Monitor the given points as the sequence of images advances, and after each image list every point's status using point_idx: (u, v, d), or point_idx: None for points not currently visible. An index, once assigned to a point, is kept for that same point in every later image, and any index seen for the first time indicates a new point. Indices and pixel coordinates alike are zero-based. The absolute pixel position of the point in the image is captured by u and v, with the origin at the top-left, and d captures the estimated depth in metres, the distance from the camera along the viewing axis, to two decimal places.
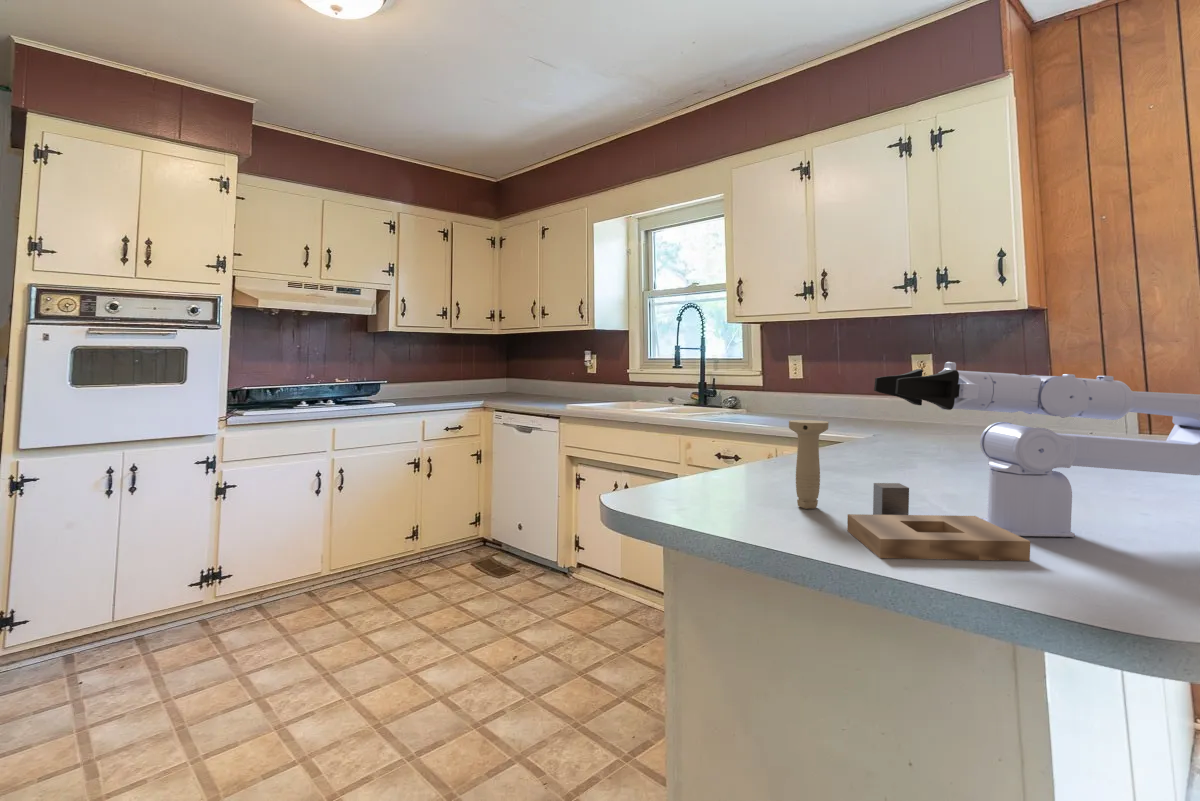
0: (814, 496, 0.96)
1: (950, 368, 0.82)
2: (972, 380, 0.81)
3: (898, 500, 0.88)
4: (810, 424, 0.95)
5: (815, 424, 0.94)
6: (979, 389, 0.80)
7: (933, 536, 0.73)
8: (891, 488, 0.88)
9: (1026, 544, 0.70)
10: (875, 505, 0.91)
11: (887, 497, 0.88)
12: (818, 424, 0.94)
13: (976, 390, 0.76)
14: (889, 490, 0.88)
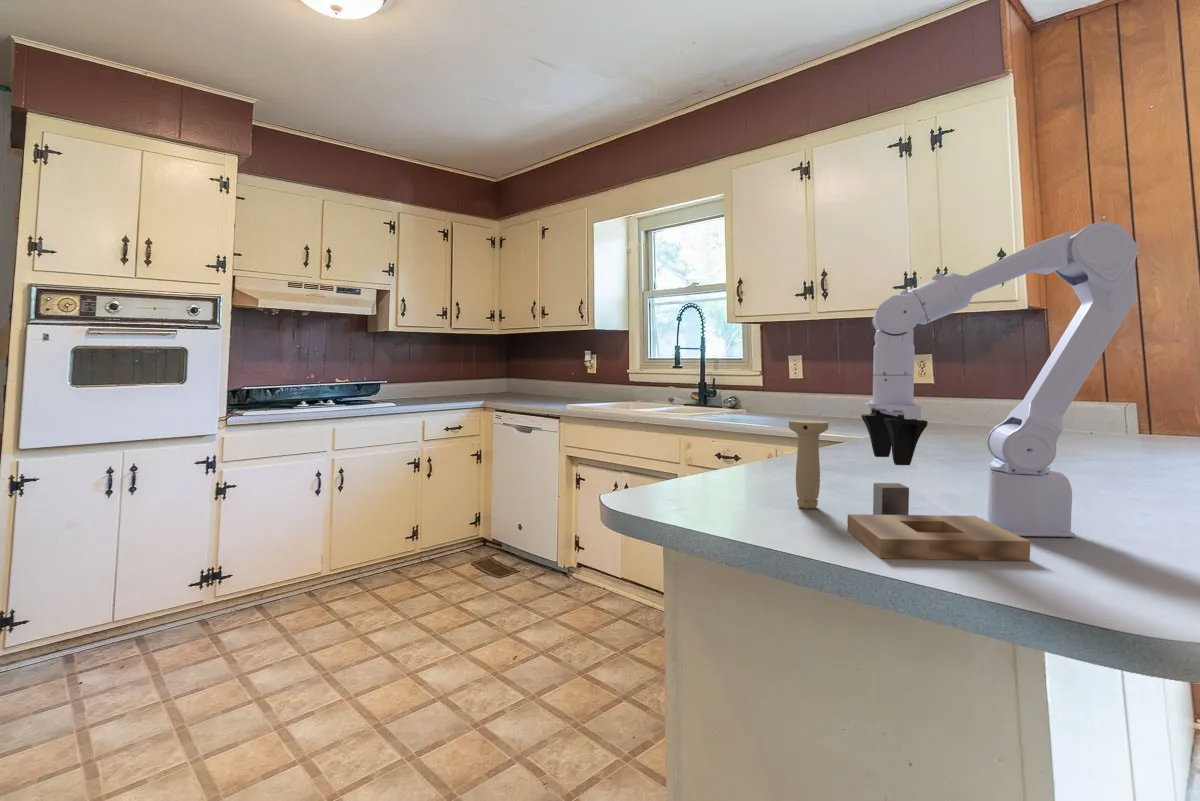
0: (814, 496, 0.96)
1: (874, 407, 0.88)
2: (889, 392, 0.87)
3: (898, 500, 0.88)
4: (810, 424, 0.95)
5: (815, 424, 0.94)
6: (899, 387, 0.86)
7: (933, 536, 0.73)
8: (891, 488, 0.88)
9: (1026, 544, 0.70)
10: (875, 505, 0.91)
11: (887, 497, 0.88)
12: (818, 424, 0.94)
13: (913, 408, 0.82)
14: (889, 490, 0.88)
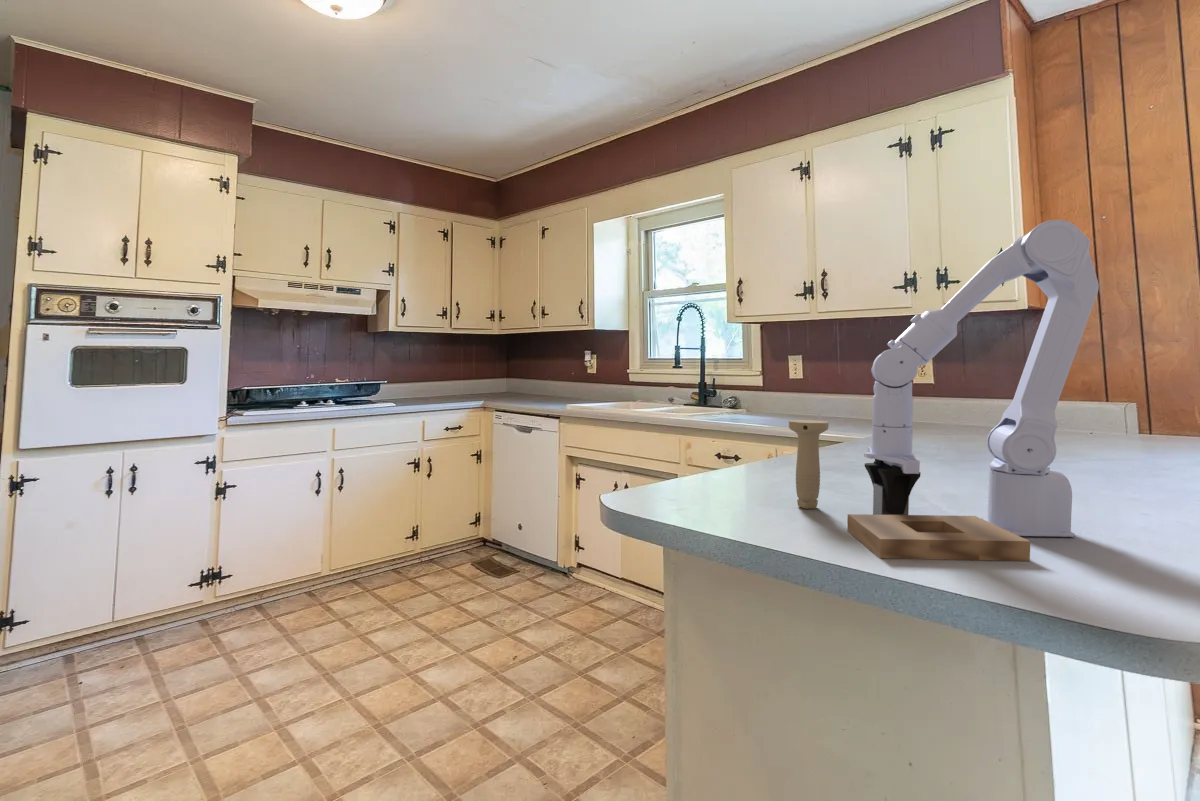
0: (814, 496, 0.96)
1: (873, 458, 0.89)
2: (888, 444, 0.87)
3: None
4: (810, 424, 0.95)
5: (815, 424, 0.94)
6: (897, 439, 0.87)
7: (933, 536, 0.73)
8: None
9: (1026, 544, 0.70)
10: (875, 505, 0.91)
11: None
12: (818, 424, 0.94)
13: (911, 462, 0.82)
14: None
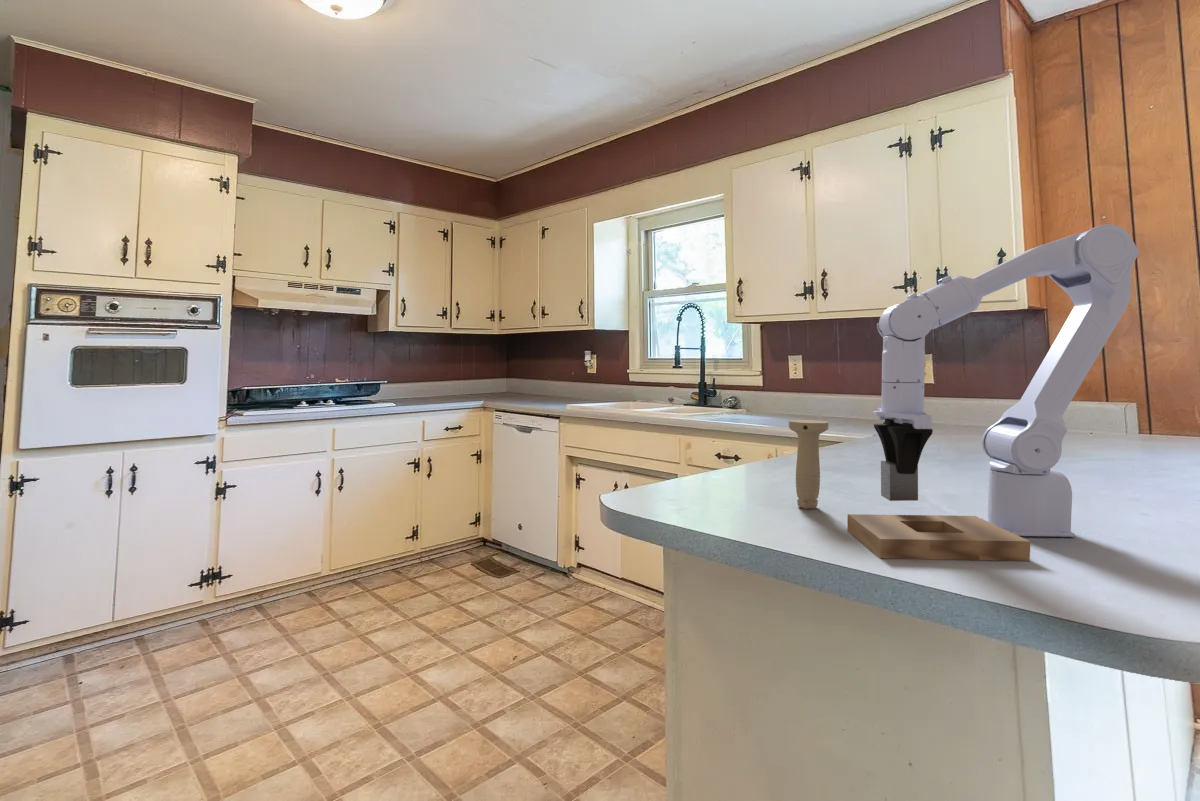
0: (814, 496, 0.96)
1: (883, 416, 0.85)
2: (898, 401, 0.83)
3: (907, 477, 0.84)
4: (810, 424, 0.95)
5: (815, 424, 0.94)
6: (908, 395, 0.83)
7: (933, 536, 0.73)
8: None
9: (1026, 544, 0.70)
10: (883, 484, 0.87)
11: (894, 474, 0.85)
12: (818, 424, 0.94)
13: (923, 417, 0.78)
14: (896, 467, 0.85)
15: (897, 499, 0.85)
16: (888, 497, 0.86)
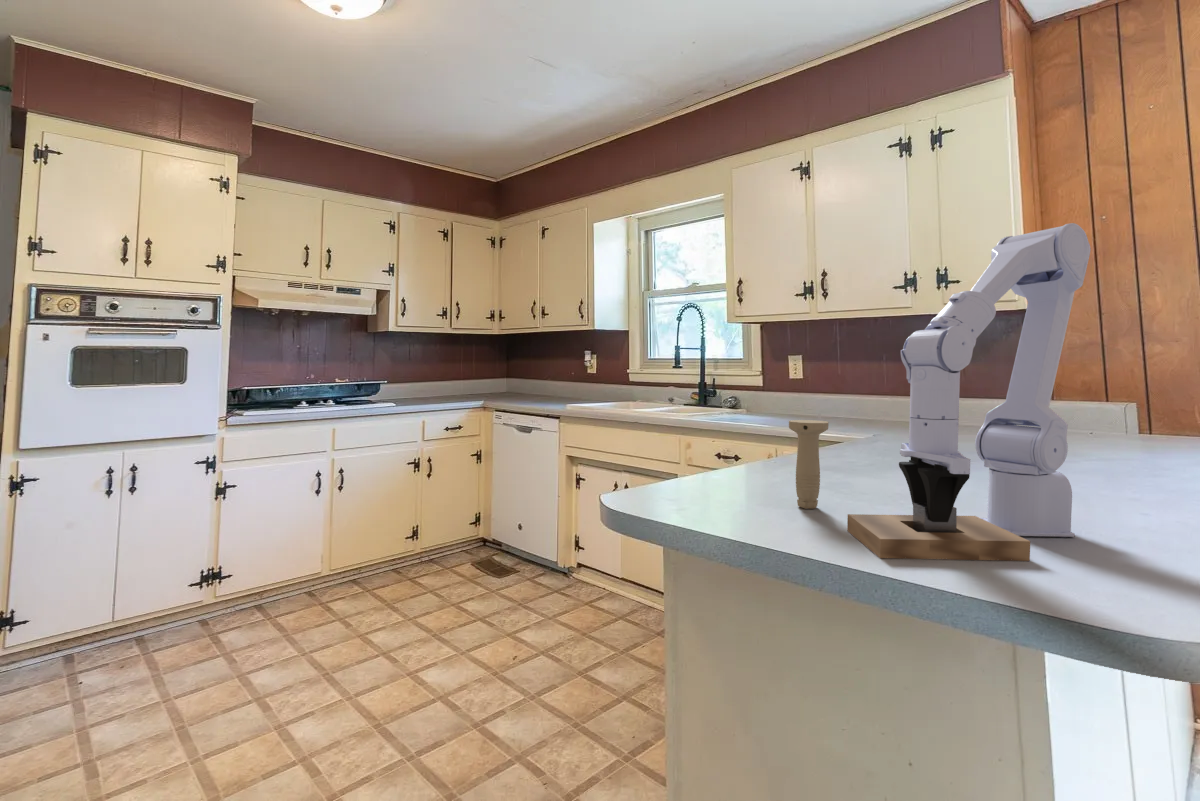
0: (814, 496, 0.96)
1: (911, 455, 0.76)
2: (930, 439, 0.74)
3: (944, 522, 0.75)
4: (810, 424, 0.95)
5: (815, 424, 0.94)
6: (941, 433, 0.73)
7: (933, 536, 0.73)
8: None
9: (1026, 544, 0.70)
10: (916, 529, 0.78)
11: None
12: (818, 424, 0.94)
13: (960, 461, 0.69)
14: None
15: None
16: None
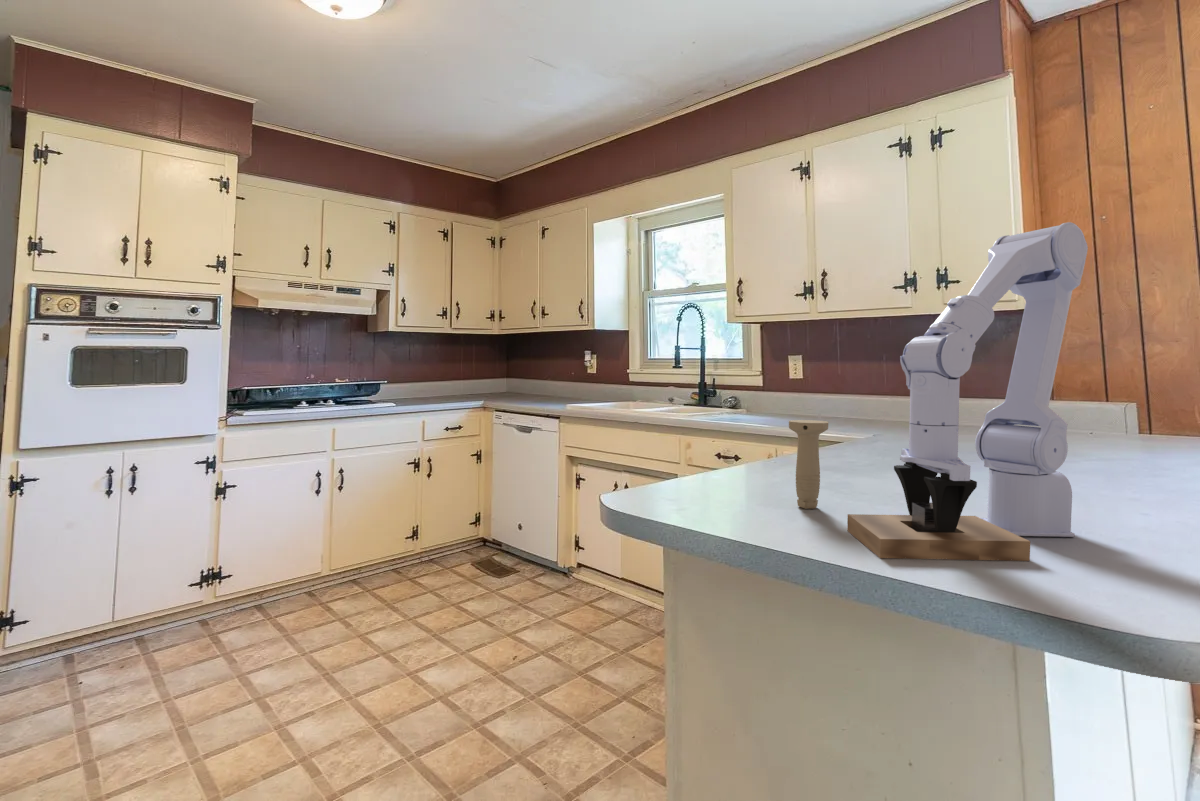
0: (814, 496, 0.96)
1: (911, 462, 0.76)
2: (930, 446, 0.74)
3: None
4: (810, 424, 0.95)
5: (815, 424, 0.94)
6: (941, 440, 0.73)
7: (933, 536, 0.73)
8: None
9: (1026, 544, 0.70)
10: (915, 529, 0.78)
11: (930, 519, 0.75)
12: (818, 424, 0.94)
13: (960, 467, 0.69)
14: (932, 512, 0.75)
15: None
16: None
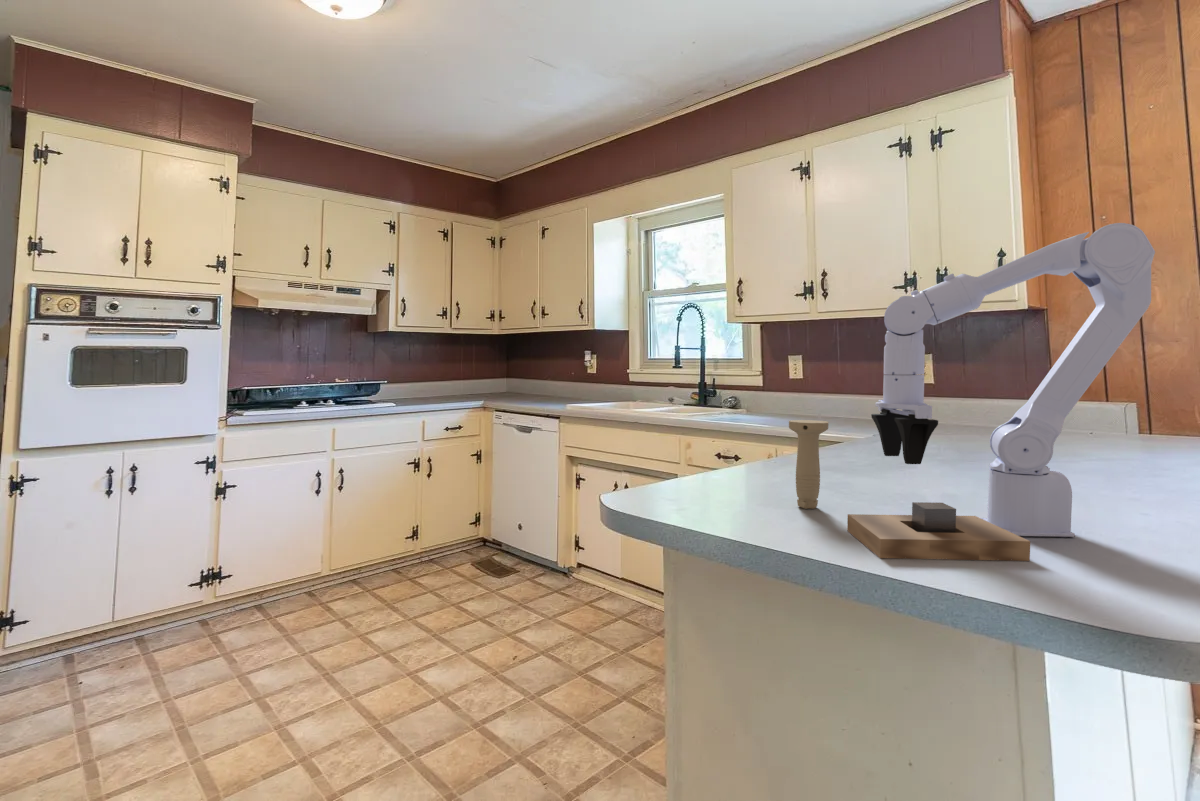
0: (814, 496, 0.96)
1: (885, 407, 0.89)
2: (900, 392, 0.87)
3: (944, 523, 0.75)
4: (810, 424, 0.95)
5: (815, 424, 0.94)
6: (909, 387, 0.87)
7: (933, 536, 0.73)
8: (935, 509, 0.75)
9: (1026, 544, 0.70)
10: (915, 529, 0.78)
11: (930, 520, 0.75)
12: (818, 424, 0.94)
13: (924, 407, 0.83)
14: (932, 512, 0.75)
15: None
16: None
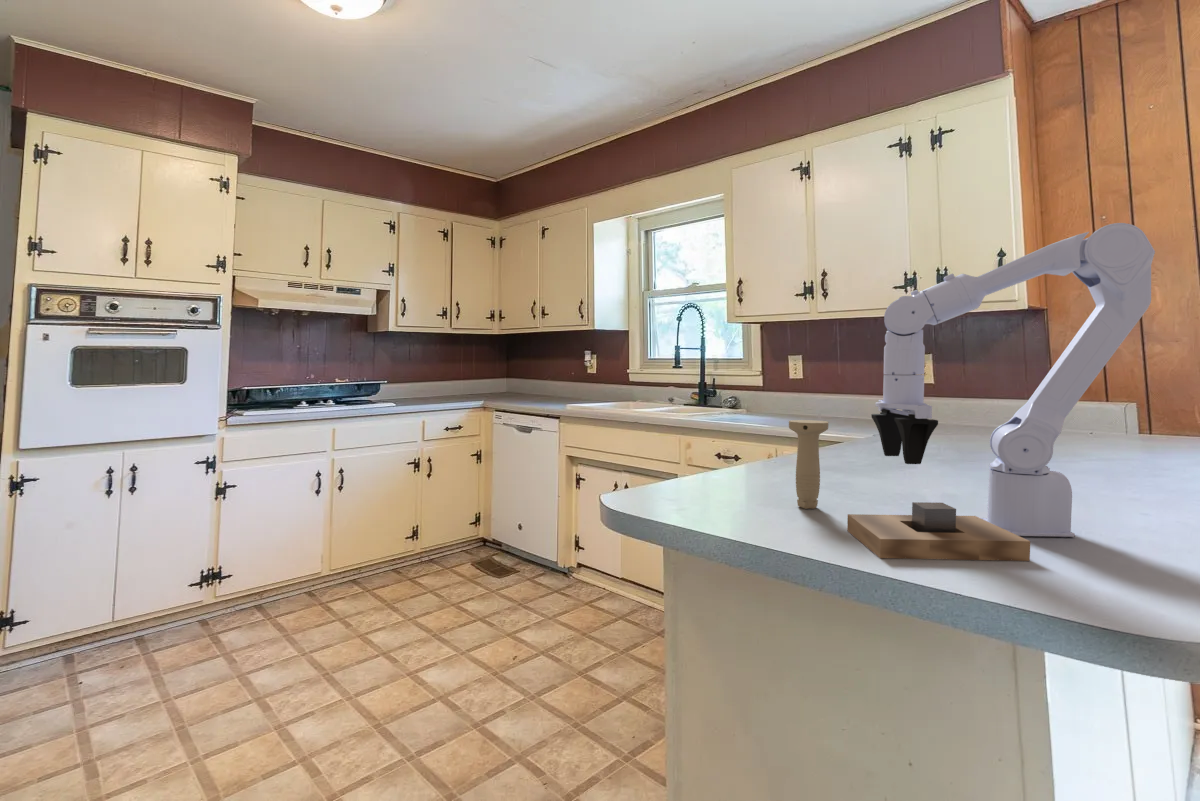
0: (814, 496, 0.96)
1: (885, 407, 0.89)
2: (900, 392, 0.87)
3: (944, 523, 0.75)
4: (810, 424, 0.95)
5: (815, 424, 0.94)
6: (909, 387, 0.87)
7: (933, 536, 0.73)
8: (935, 509, 0.75)
9: (1026, 544, 0.70)
10: (915, 529, 0.78)
11: (930, 520, 0.75)
12: (818, 424, 0.94)
13: (924, 407, 0.83)
14: (932, 512, 0.75)
15: None
16: None
